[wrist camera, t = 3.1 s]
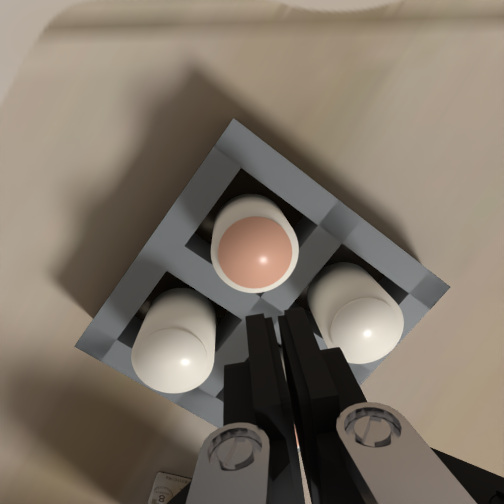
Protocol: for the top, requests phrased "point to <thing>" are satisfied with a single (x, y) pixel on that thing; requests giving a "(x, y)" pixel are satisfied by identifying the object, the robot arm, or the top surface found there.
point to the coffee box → (166, 488)
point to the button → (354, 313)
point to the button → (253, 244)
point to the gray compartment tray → (242, 303)
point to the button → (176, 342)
